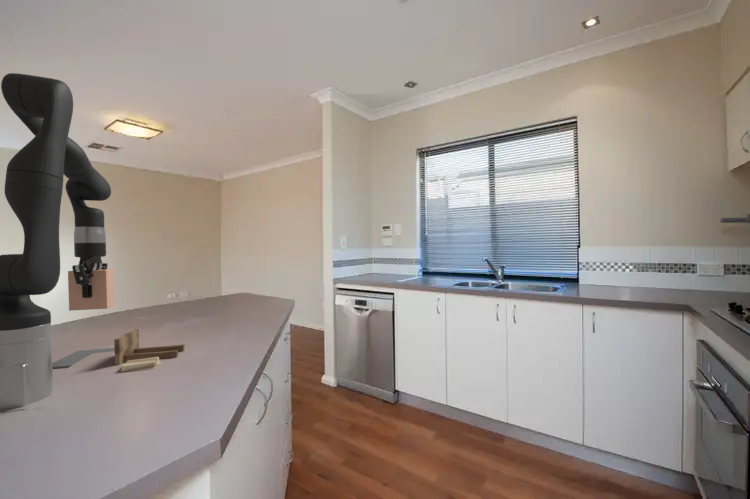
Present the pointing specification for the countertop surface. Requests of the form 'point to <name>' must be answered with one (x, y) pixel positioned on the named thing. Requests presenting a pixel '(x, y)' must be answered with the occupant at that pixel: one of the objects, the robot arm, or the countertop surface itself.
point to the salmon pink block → (100, 291)
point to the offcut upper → (140, 364)
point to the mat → (77, 357)
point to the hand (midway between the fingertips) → (91, 296)
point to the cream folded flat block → (145, 368)
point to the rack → (141, 349)
